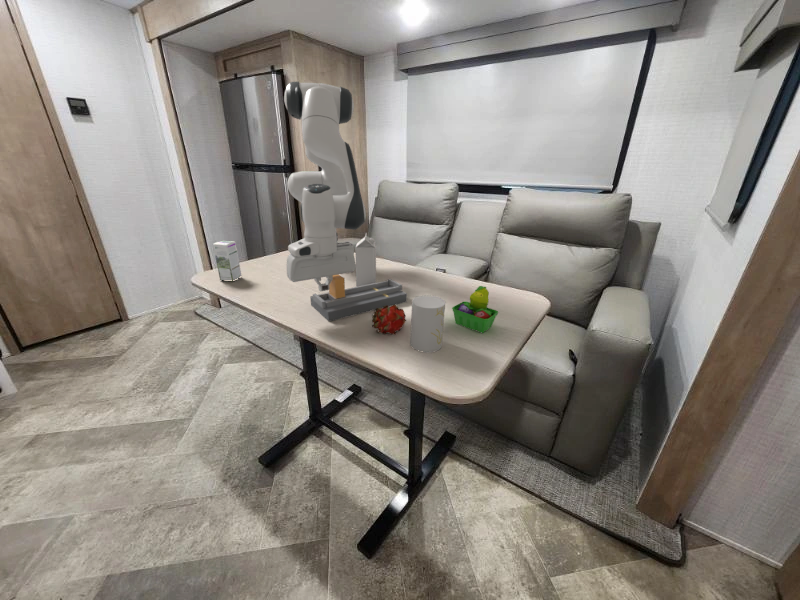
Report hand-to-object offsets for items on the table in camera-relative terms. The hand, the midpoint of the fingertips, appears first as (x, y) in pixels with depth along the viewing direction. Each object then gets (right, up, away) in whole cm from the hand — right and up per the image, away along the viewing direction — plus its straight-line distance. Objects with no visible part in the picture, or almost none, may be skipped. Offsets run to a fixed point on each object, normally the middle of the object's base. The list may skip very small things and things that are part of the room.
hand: (324, 290), depth 98 cm
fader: (+3, -3, +4) cm, 5 cm away
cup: (+30, -15, -14) cm, 36 cm away
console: (+10, -4, +9) cm, 14 cm away
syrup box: (-42, +5, +27) cm, 50 cm away
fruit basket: (+45, -10, -3) cm, 46 cm away
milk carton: (+10, +3, +26) cm, 28 cm away
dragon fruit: (+20, -12, -8) cm, 24 cm away
